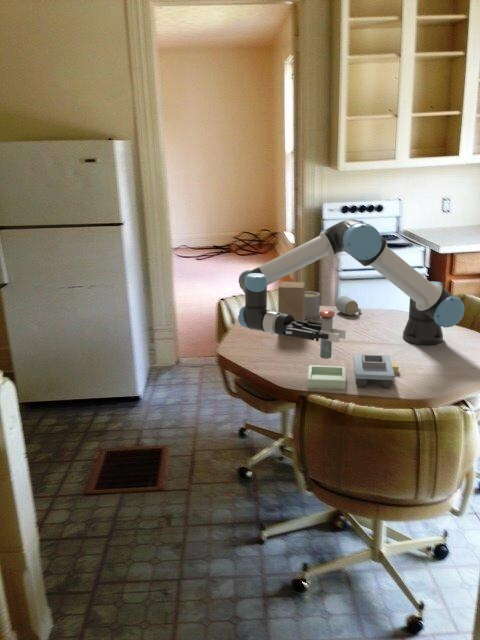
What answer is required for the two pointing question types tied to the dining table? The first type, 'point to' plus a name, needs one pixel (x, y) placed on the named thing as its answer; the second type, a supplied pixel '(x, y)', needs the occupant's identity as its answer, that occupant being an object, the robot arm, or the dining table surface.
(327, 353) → the pin
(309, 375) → the tray
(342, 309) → the ceramic mug
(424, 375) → the dining table surface
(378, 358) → the cart
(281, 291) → the wooden block
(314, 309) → the grey cylindrical piece
